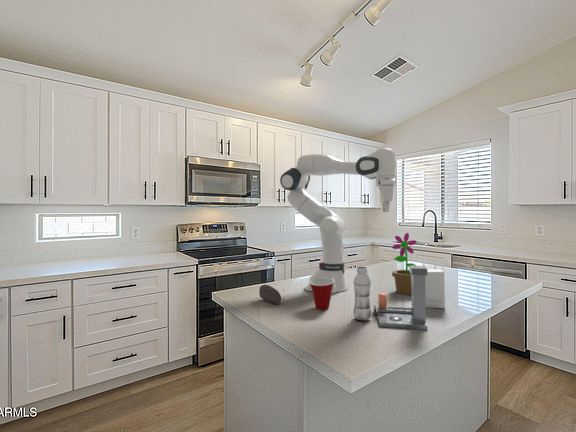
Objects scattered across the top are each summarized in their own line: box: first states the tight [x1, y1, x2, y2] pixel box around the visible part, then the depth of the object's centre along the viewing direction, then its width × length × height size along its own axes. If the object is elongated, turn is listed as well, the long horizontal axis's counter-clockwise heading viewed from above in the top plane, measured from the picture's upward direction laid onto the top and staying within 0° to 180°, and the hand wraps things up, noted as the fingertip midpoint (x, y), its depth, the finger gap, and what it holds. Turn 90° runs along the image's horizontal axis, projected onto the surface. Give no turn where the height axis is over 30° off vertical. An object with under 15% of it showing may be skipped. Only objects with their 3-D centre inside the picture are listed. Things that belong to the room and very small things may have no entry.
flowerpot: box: [391, 232, 418, 296], centre depth 154 cm, size 14×14×30 cm
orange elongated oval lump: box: [376, 292, 388, 310], centre depth 122 cm, size 4×3×7 cm
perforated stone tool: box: [258, 284, 282, 305], centre depth 141 cm, size 15×5×7 cm, turn 35°
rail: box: [373, 304, 412, 317], centre depth 121 cm, size 19×5×3 cm, turn 76°
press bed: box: [377, 265, 428, 331], centre depth 113 cm, size 17×11×21 cm, turn 76°
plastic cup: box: [308, 278, 334, 311], centre depth 131 cm, size 11×11×12 cm
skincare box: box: [425, 268, 446, 309], centre depth 132 cm, size 8×7×16 cm
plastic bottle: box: [352, 266, 372, 322], centre depth 116 cm, size 6×7×20 cm
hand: (385, 211), depth 144 cm, fingers open, 8 cm apart
